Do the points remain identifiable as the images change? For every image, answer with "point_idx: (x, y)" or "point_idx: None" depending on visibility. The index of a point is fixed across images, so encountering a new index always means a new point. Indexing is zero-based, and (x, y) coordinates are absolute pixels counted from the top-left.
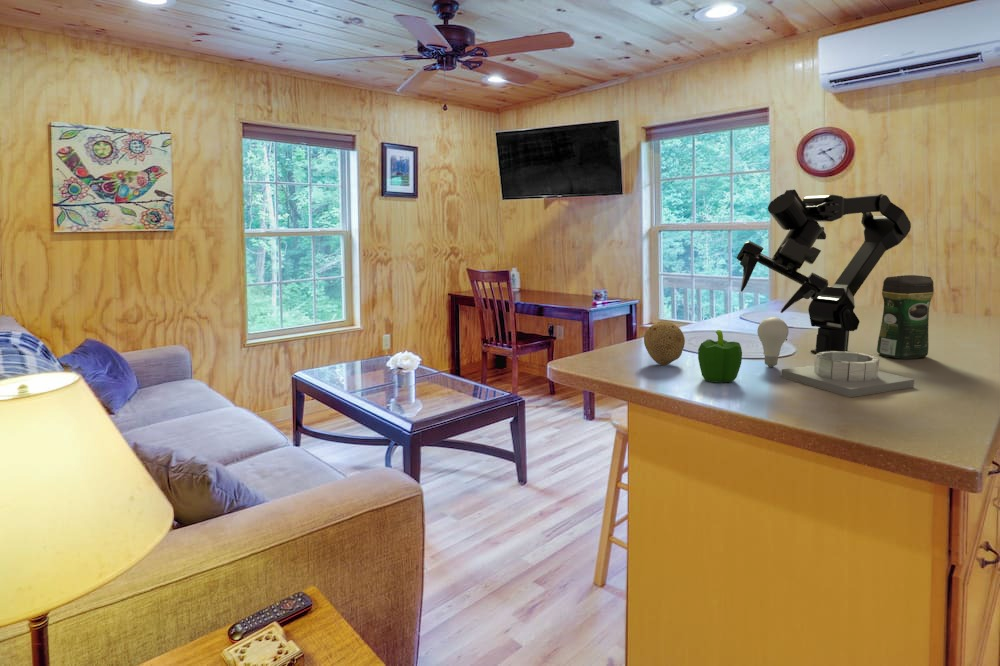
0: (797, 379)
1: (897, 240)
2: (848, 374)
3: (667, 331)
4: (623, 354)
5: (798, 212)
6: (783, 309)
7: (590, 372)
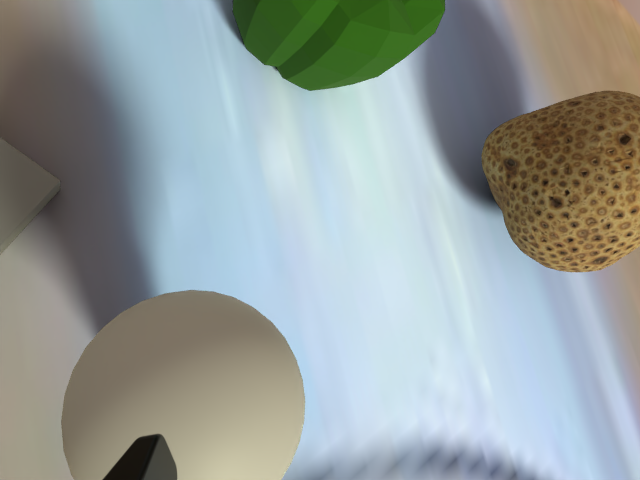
0: None
1: None
2: None
3: (610, 102)
4: (630, 286)
5: None
6: (143, 450)
7: (596, 24)
